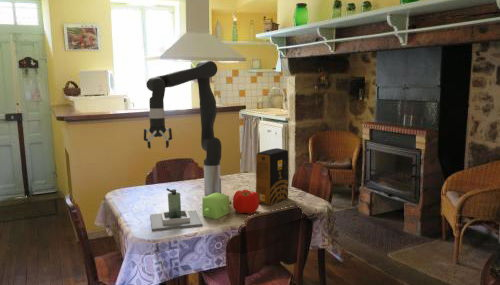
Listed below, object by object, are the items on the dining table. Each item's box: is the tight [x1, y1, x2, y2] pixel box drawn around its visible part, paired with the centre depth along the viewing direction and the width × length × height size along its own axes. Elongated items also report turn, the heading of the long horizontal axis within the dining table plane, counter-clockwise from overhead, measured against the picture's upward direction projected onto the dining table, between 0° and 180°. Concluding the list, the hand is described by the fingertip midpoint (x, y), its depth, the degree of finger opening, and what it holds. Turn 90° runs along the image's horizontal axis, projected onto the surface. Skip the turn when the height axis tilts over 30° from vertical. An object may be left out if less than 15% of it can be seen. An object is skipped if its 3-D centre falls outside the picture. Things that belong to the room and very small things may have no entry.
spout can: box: [166, 188, 182, 219], centre depth 187 cm, size 6×6×15 cm
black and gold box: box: [255, 147, 289, 206], centre depth 218 cm, size 11×19×28 cm, turn 142°
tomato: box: [232, 189, 260, 215], centre depth 200 cm, size 14×13×10 cm
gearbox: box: [201, 192, 233, 220], centre depth 196 cm, size 18×10×10 cm, turn 146°
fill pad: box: [149, 209, 203, 232], centre depth 189 cm, size 22×20×3 cm
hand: (158, 148), depth 209 cm, fingers open, 8 cm apart
